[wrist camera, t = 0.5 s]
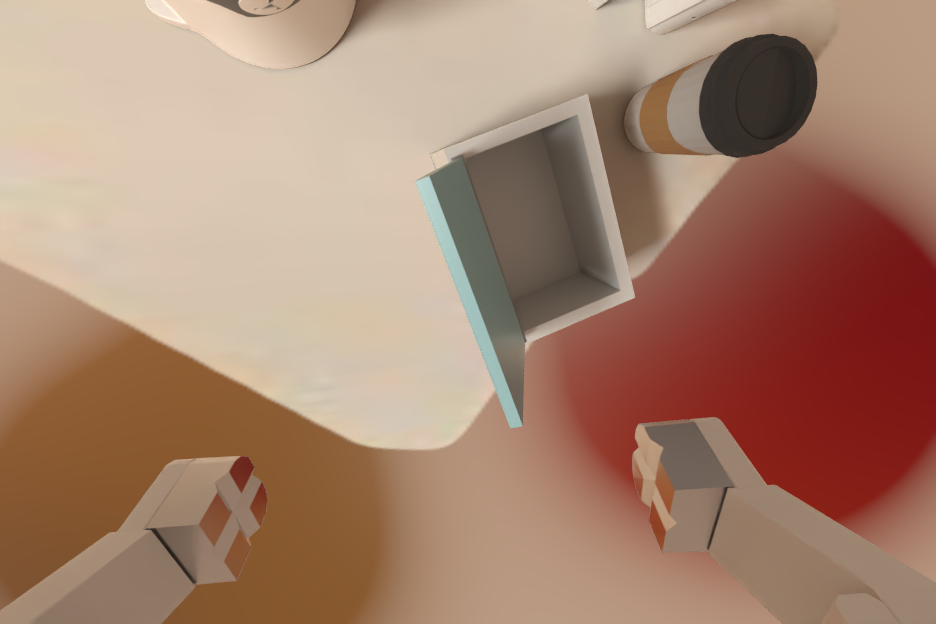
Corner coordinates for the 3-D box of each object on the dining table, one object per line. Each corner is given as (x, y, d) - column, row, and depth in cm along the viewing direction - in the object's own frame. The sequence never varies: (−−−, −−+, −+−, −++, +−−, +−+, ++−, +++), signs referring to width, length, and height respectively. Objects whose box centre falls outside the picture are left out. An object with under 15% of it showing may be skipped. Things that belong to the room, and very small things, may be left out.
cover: (463, 153, 33) (451, 157, 33) (429, 171, 22) (411, 177, 22) (526, 338, 39) (515, 340, 39) (525, 428, 28) (509, 431, 28)
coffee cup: (691, 77, 45) (836, 31, 31) (679, 163, 47) (807, 158, 33) (617, 72, 43) (734, 21, 29) (607, 161, 46) (711, 154, 31)
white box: (430, 154, 42) (443, 148, 33) (545, 109, 43) (587, 93, 34) (490, 318, 48) (514, 348, 40) (590, 276, 49) (635, 297, 40)
